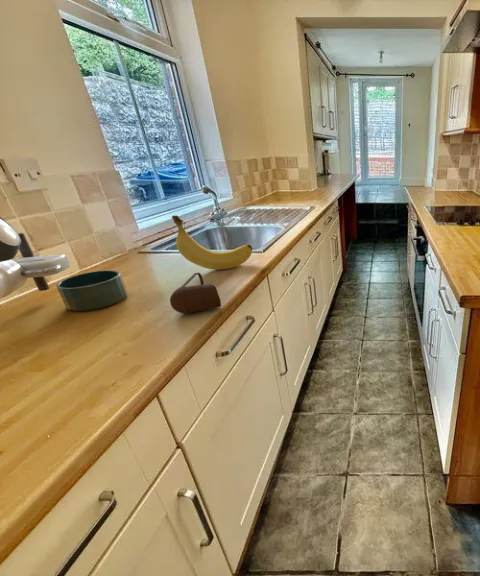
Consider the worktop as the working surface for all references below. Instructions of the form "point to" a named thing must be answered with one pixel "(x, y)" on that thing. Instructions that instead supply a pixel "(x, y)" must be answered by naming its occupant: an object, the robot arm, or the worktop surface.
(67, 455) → the worktop surface
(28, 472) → the worktop surface
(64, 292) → the bowl
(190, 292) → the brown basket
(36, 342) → the worktop surface
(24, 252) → the stirring stick
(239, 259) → the banana
